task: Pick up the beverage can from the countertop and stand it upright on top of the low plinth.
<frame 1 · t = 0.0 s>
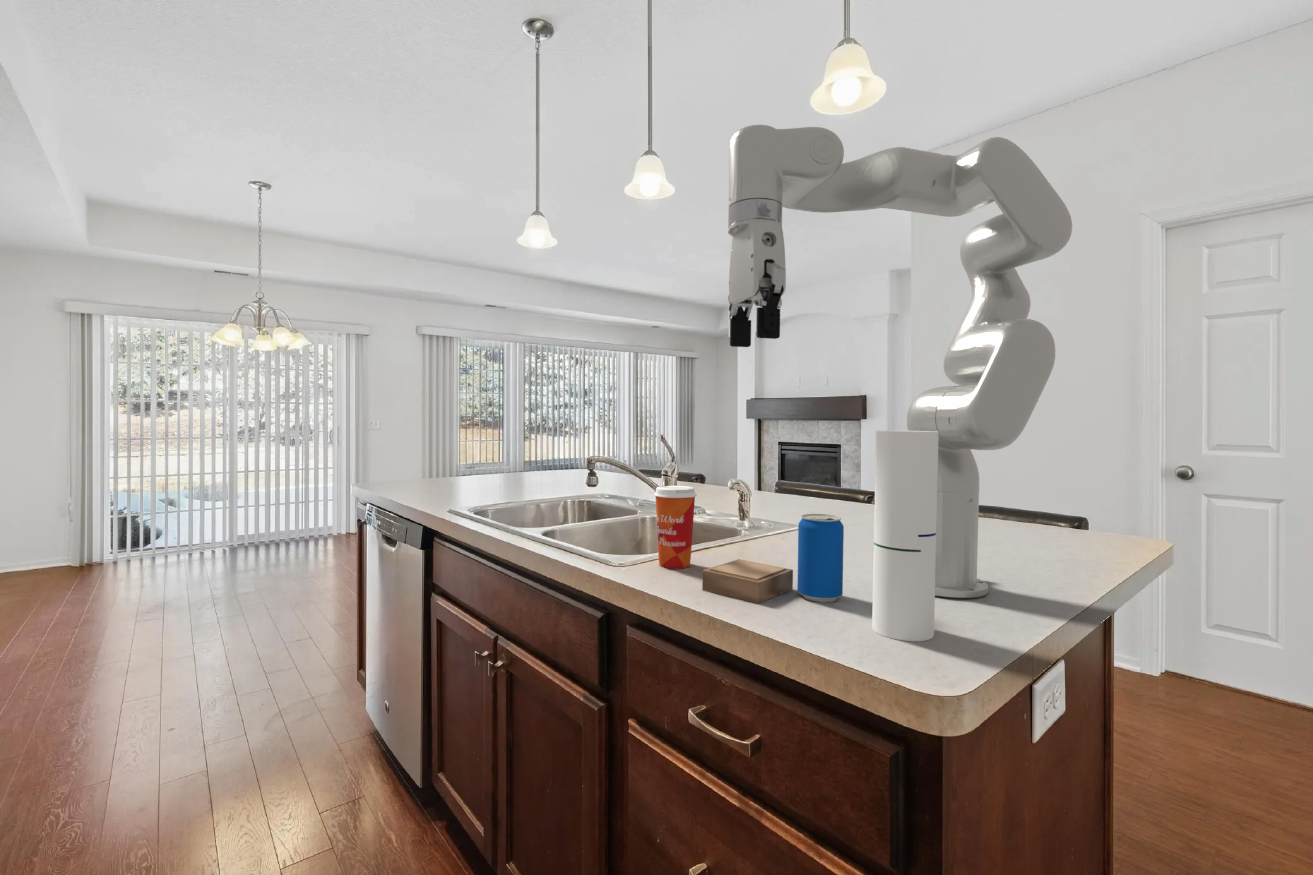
hand: (753, 342, 84), 37 cm above the worktop, tool pointing down, fingers open, 9 cm apart
cylindrical container: (902, 632, 74), on the worktop
paper cup: (674, 566, 107), on the worktop
beverage can: (819, 598, 88), on the worktop
plinth: (747, 589, 92), on the worktop
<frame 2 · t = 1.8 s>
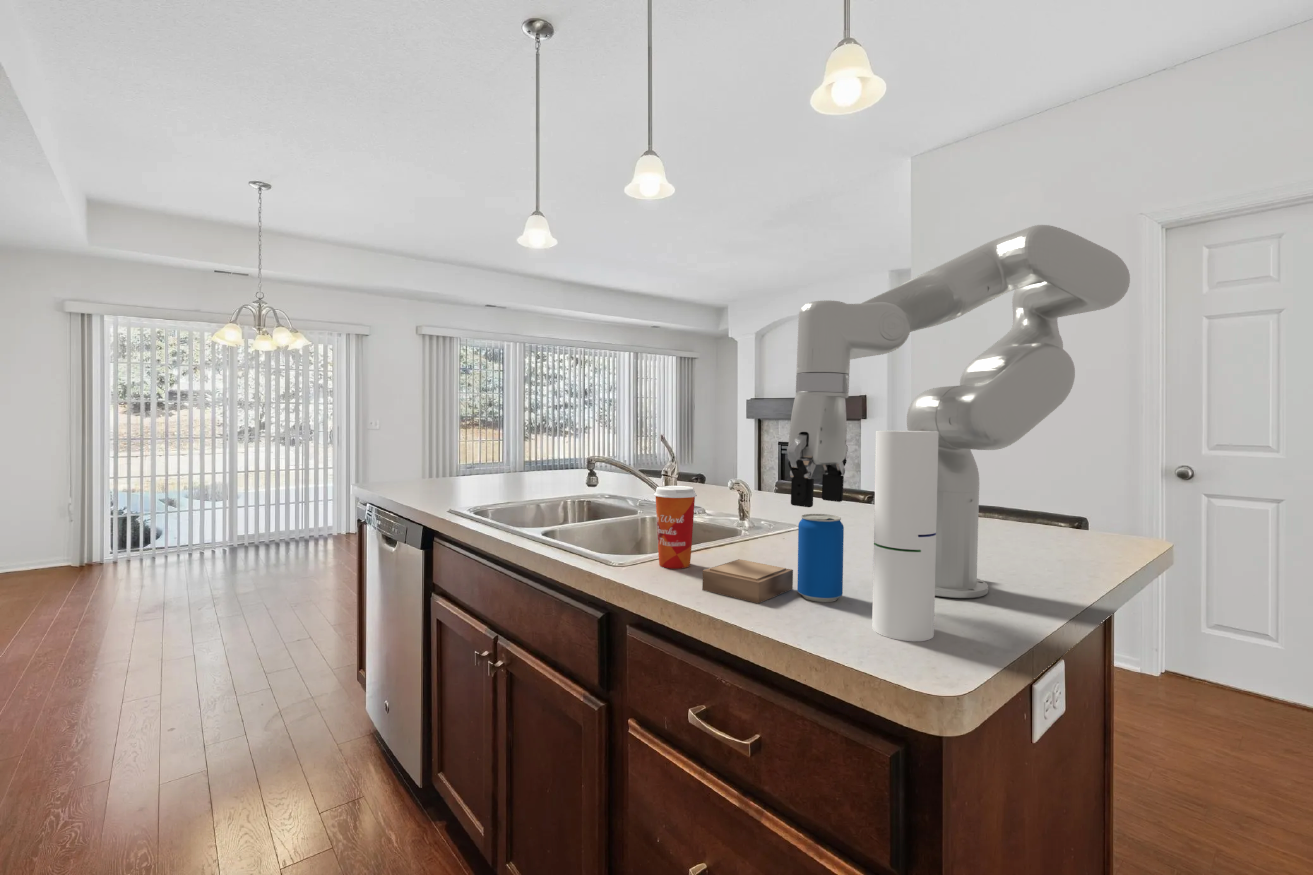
hand: (817, 503, 87), 14 cm above the worktop, tool pointing down, fingers open, 9 cm apart
nothing on the worktop moved.
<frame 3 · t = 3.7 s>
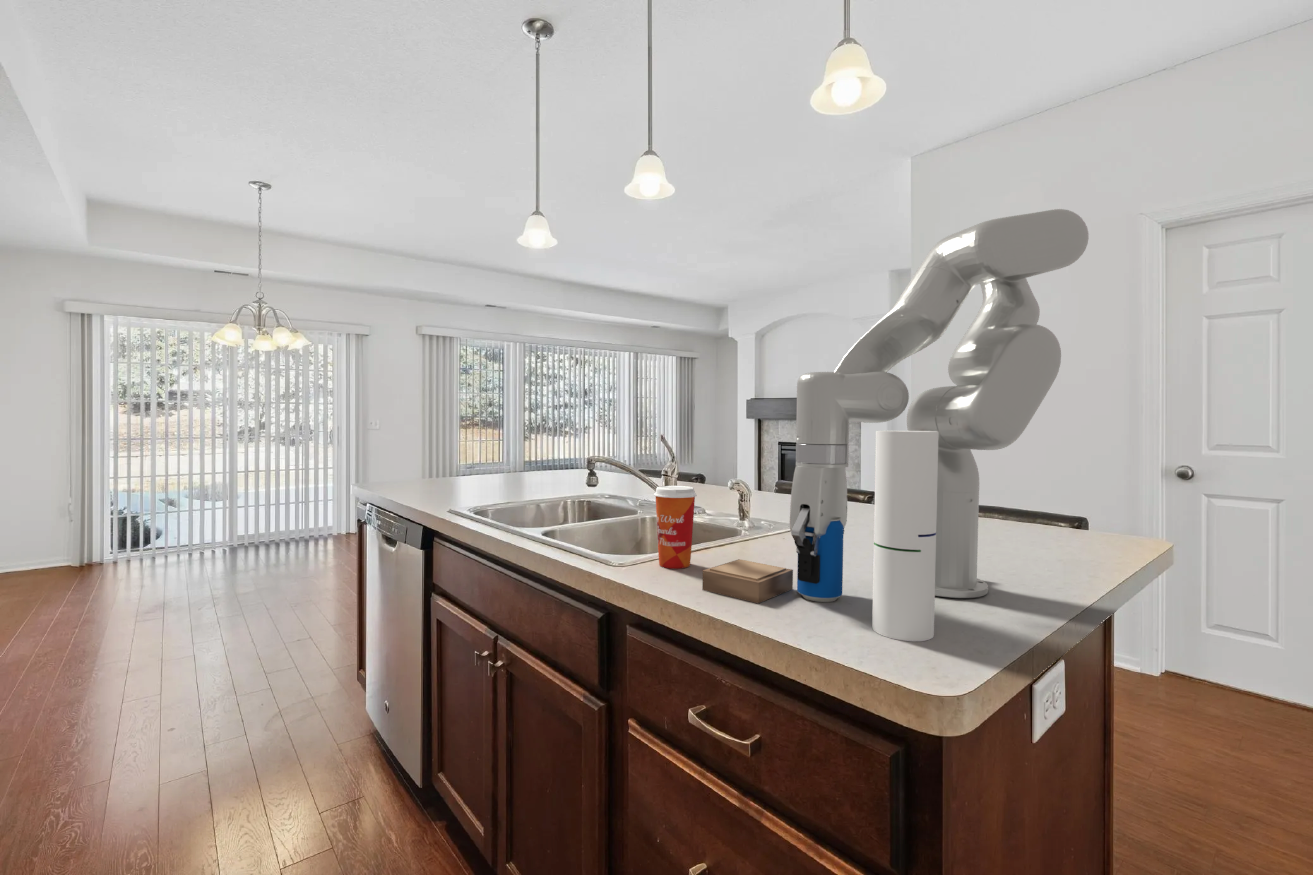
hand: (819, 575, 88), 3 cm above the worktop, tool pointing down, fingers closed on beverage can, 6 cm apart
beverage can: (819, 598, 88), on the worktop, touching gripper
everything else where it was.
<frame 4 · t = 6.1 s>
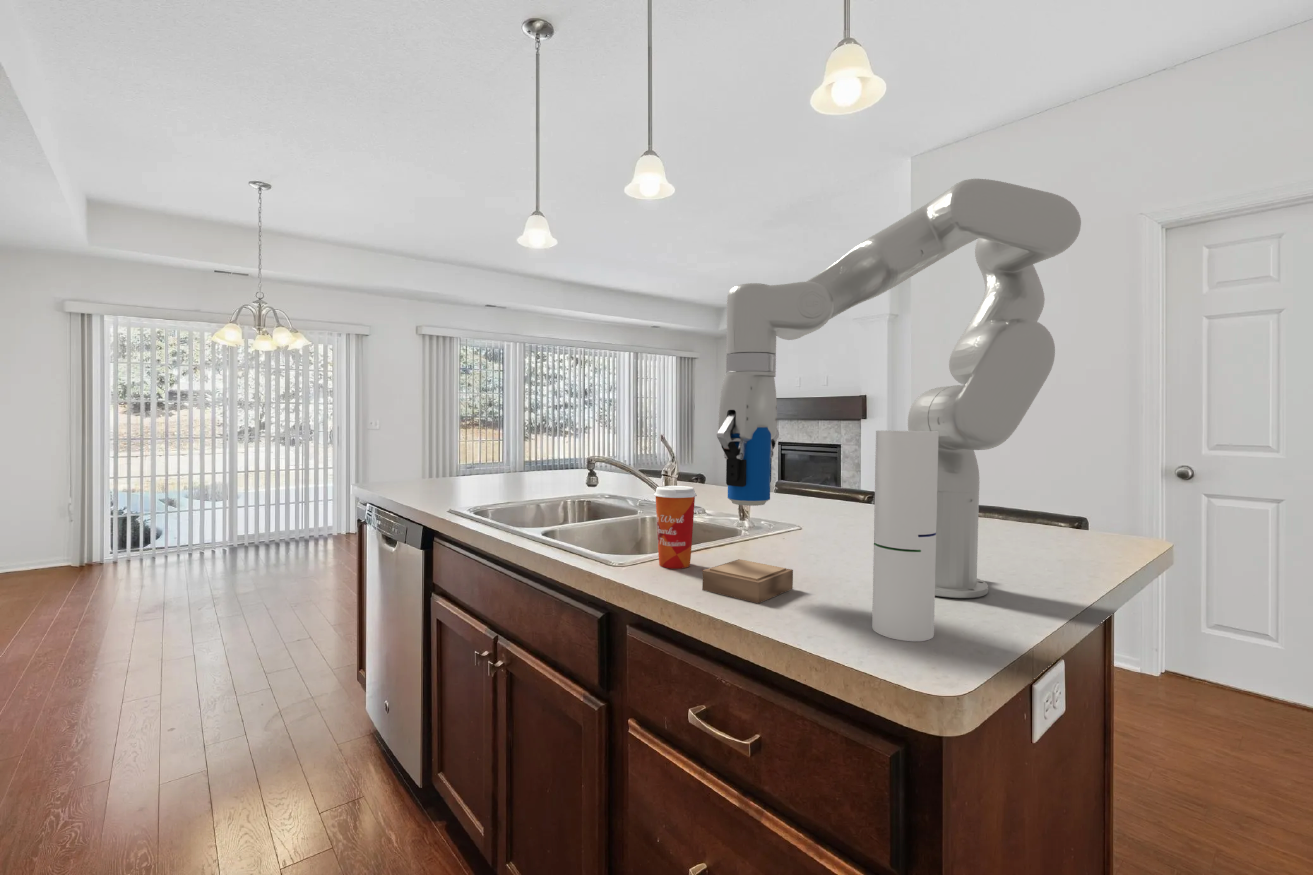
hand: (749, 483, 91), 17 cm above the worktop, tool pointing down, fingers closed on beverage can, 6 cm apart
beverage can: (748, 504, 91), point 13 cm above the worktop, touching gripper
everything else where it was.
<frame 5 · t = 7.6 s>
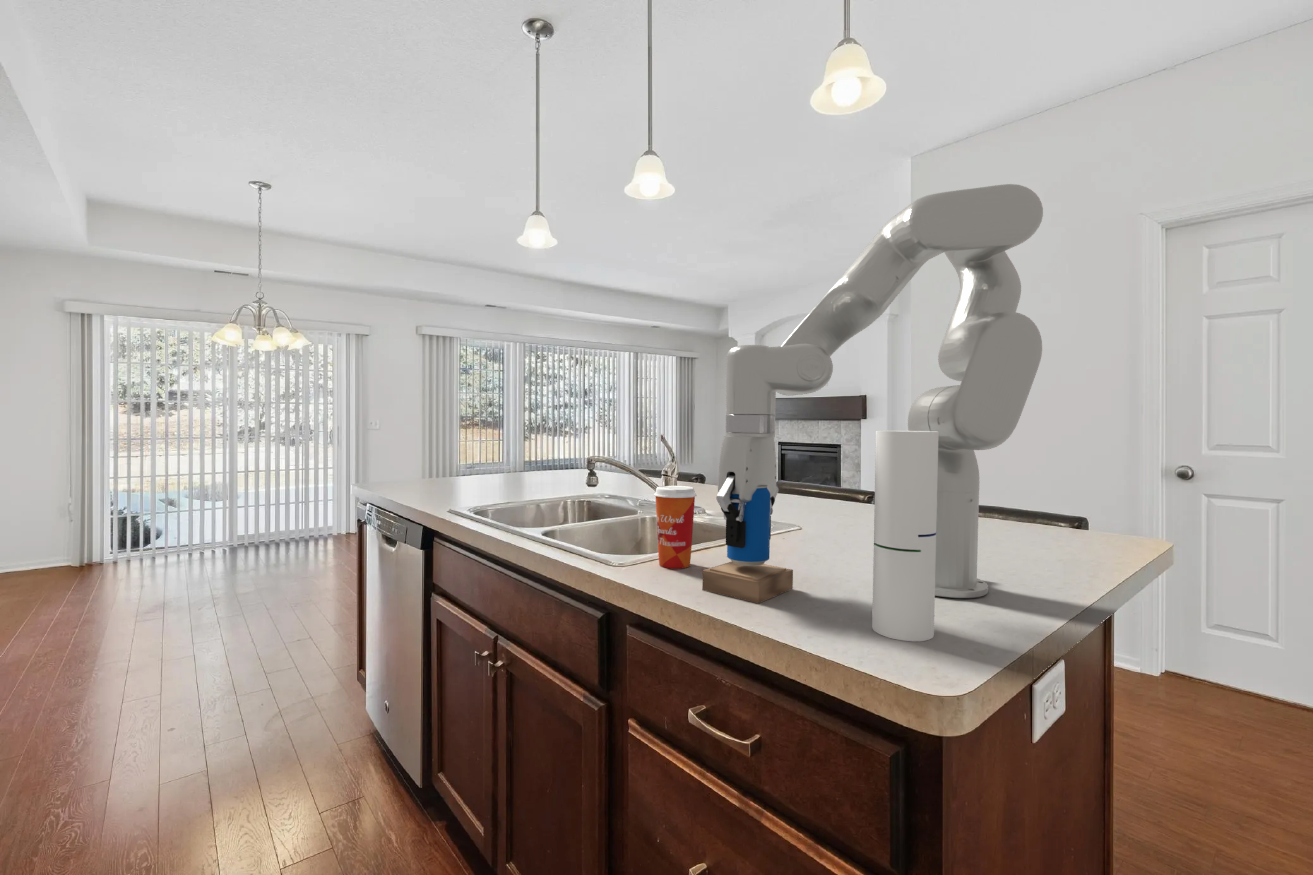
hand: (748, 541, 91), 7 cm above the worktop, tool pointing down, fingers closed on beverage can, 6 cm apart
beverage can: (748, 563, 92), point 4 cm above the worktop, touching gripper
everything else where it was.
when the fingers open (7 cm above the worktop, at t = 8.6 s): beverage can stays where it is, resting on plinth.
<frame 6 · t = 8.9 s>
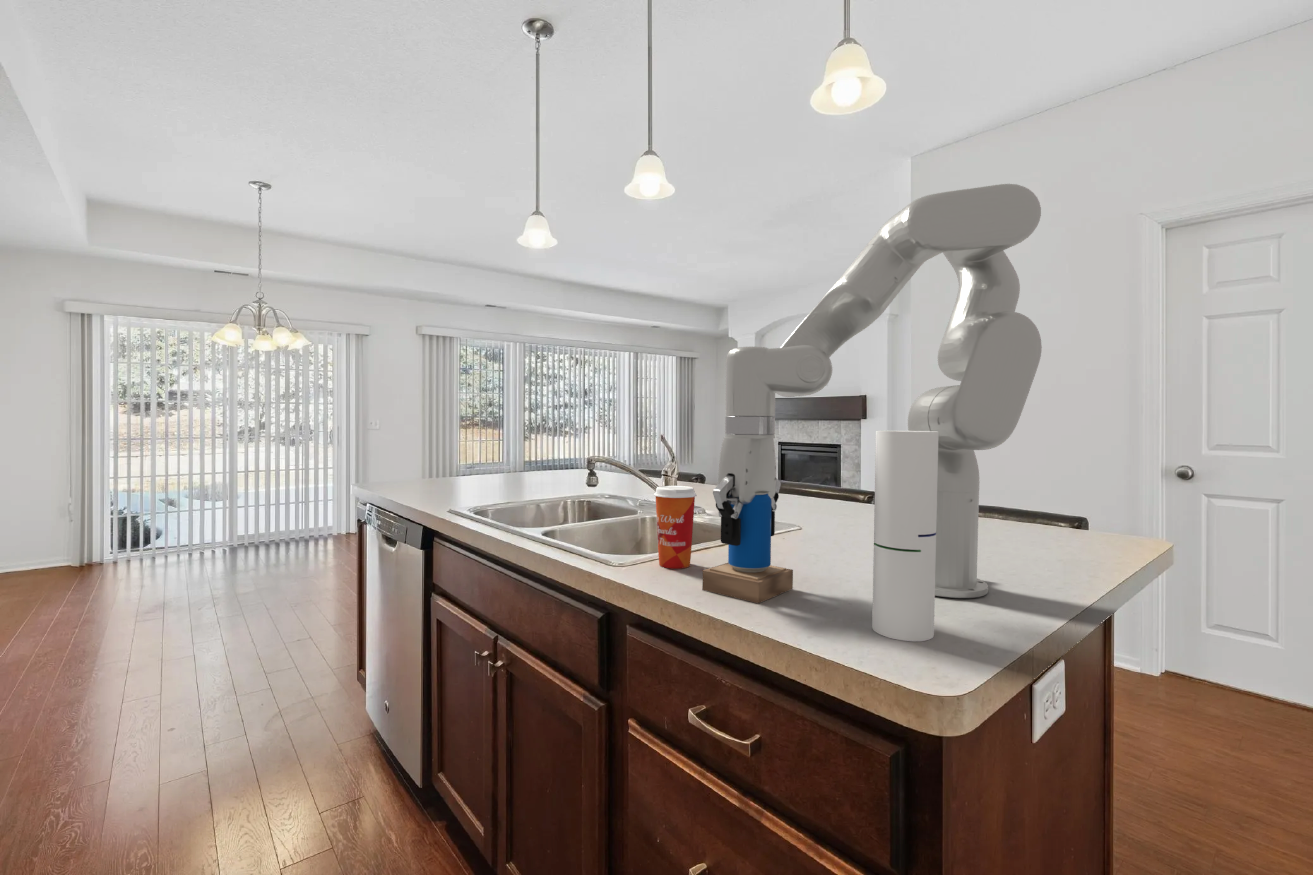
hand: (748, 539, 91), 8 cm above the worktop, tool pointing down, fingers open, 9 cm apart
beverage can: (749, 569, 92), point 3 cm above the worktop, touching plinth
everything else where it was.
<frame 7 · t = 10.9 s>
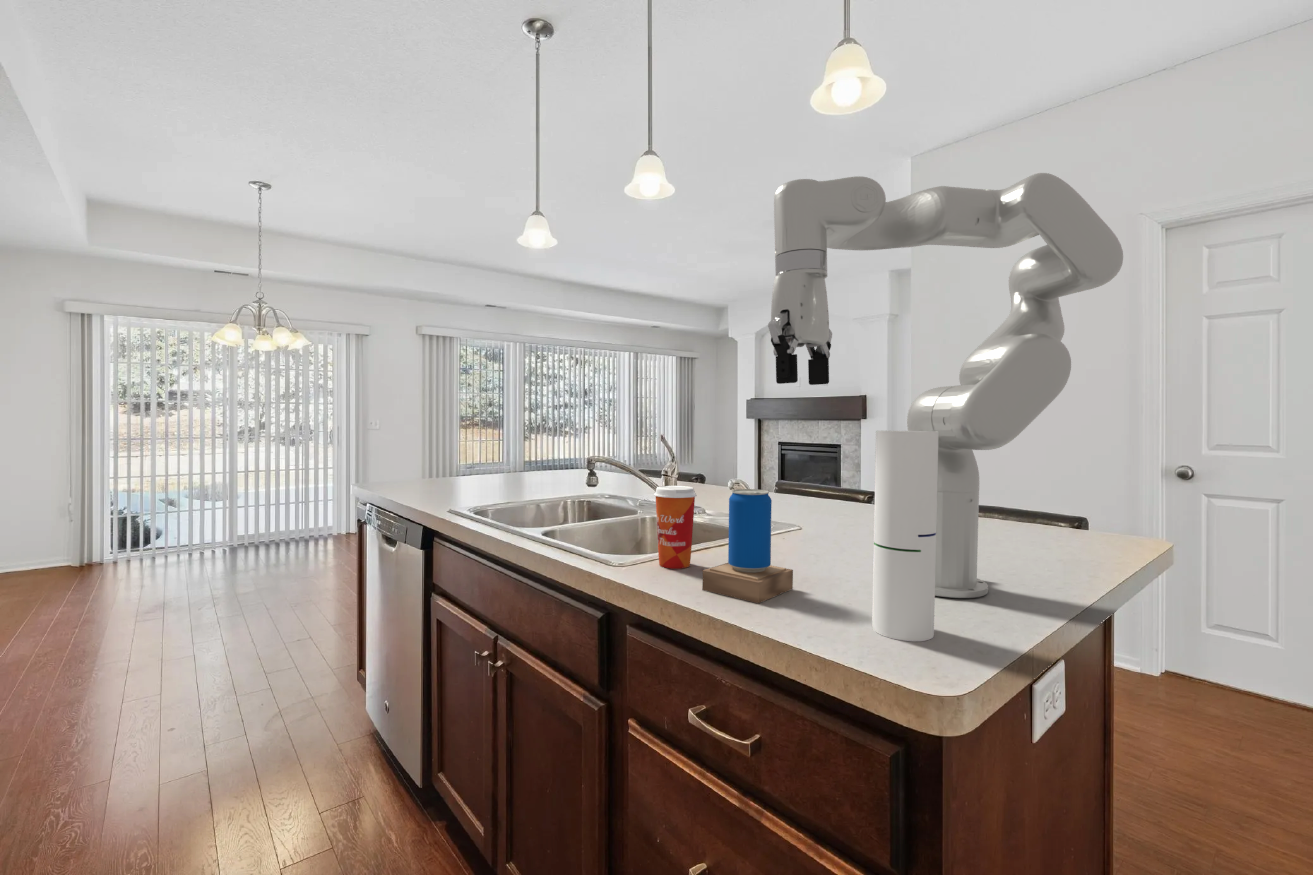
hand: (803, 383, 89), 32 cm above the worktop, tool pointing down, fingers open, 9 cm apart
nothing on the worktop moved.
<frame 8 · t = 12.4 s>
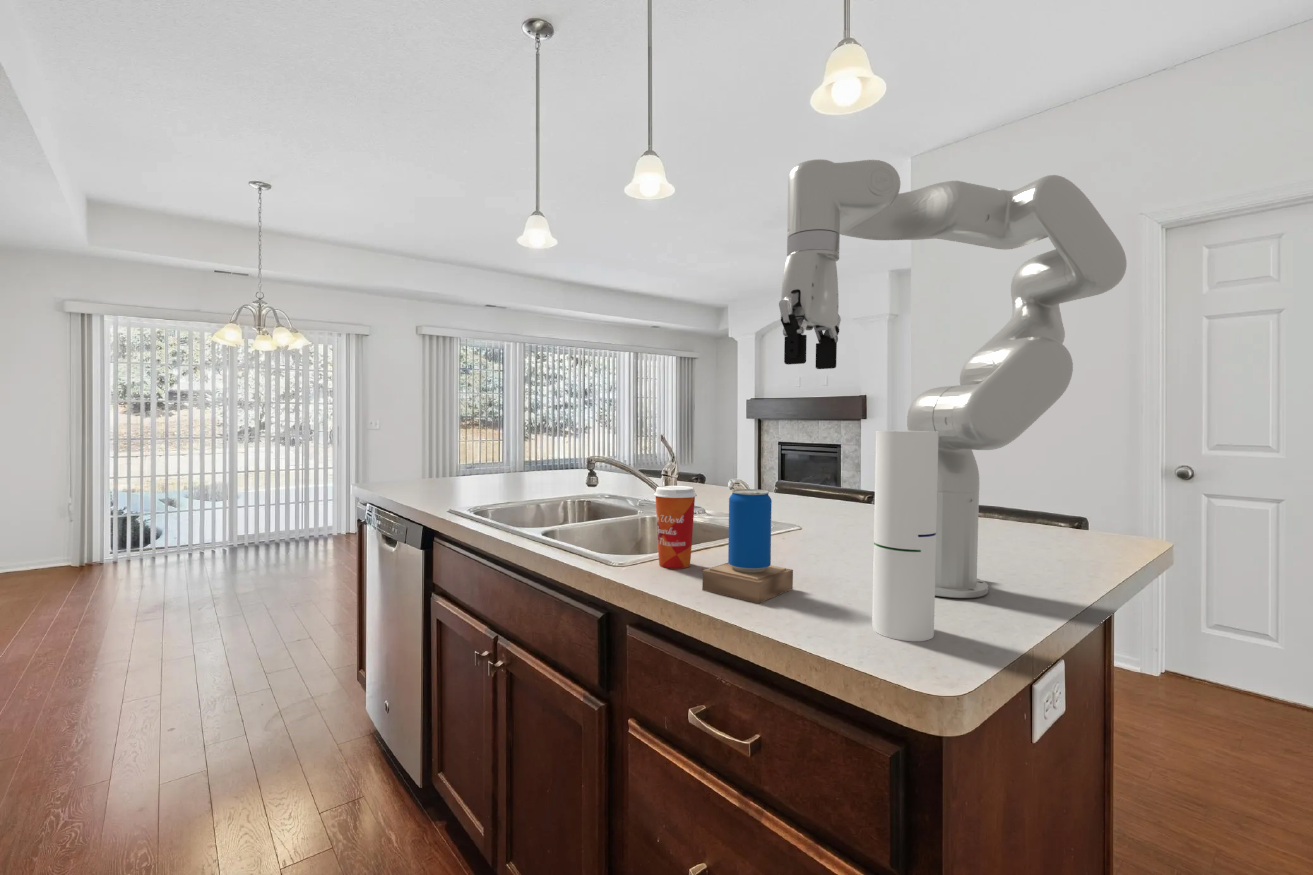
hand: (811, 366, 88), 34 cm above the worktop, tool pointing down, fingers open, 9 cm apart
nothing on the worktop moved.
at the end: beverage can inside the target area on the plinth (0.1 cm from its centre), point 3.1 cm above the plinth's base; beverage can tilted 0°; the gripper is holding nothing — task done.
